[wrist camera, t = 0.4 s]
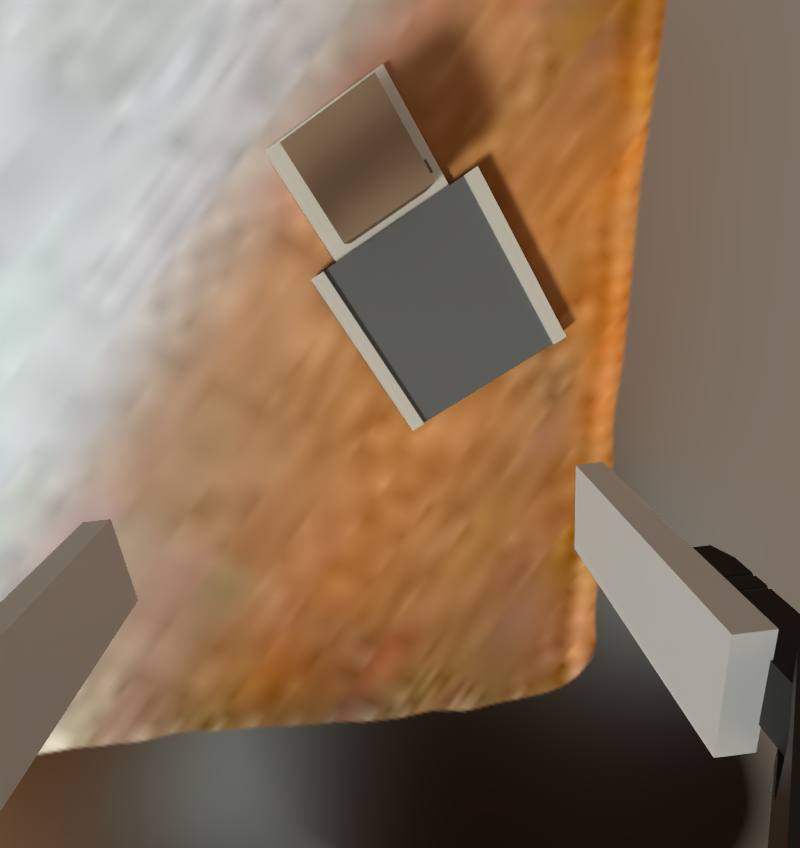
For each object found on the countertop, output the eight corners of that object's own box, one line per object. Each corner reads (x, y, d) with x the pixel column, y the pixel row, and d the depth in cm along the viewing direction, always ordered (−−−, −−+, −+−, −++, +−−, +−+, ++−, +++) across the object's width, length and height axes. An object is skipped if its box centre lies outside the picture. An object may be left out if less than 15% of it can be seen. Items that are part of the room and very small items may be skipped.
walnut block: (297, 159, 33) (279, 142, 27) (375, 102, 32) (374, 72, 26) (350, 243, 34) (344, 244, 29) (426, 191, 34) (435, 181, 28)
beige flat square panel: (264, 151, 33) (263, 150, 32) (382, 65, 31) (382, 62, 31) (344, 275, 35) (344, 275, 35) (456, 199, 34) (457, 199, 34)
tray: (312, 278, 35) (310, 279, 34) (474, 168, 34) (477, 165, 33) (411, 425, 39) (412, 430, 38) (561, 334, 38) (566, 336, 37)
